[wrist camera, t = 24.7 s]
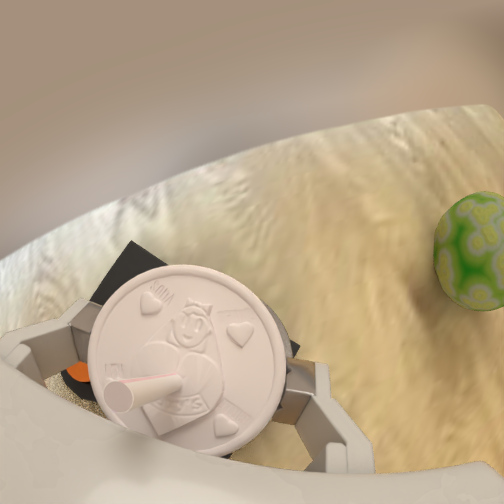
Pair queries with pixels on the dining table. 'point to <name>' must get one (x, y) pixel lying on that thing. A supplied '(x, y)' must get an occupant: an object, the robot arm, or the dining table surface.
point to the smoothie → (187, 359)
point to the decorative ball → (472, 251)
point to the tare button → (79, 372)
